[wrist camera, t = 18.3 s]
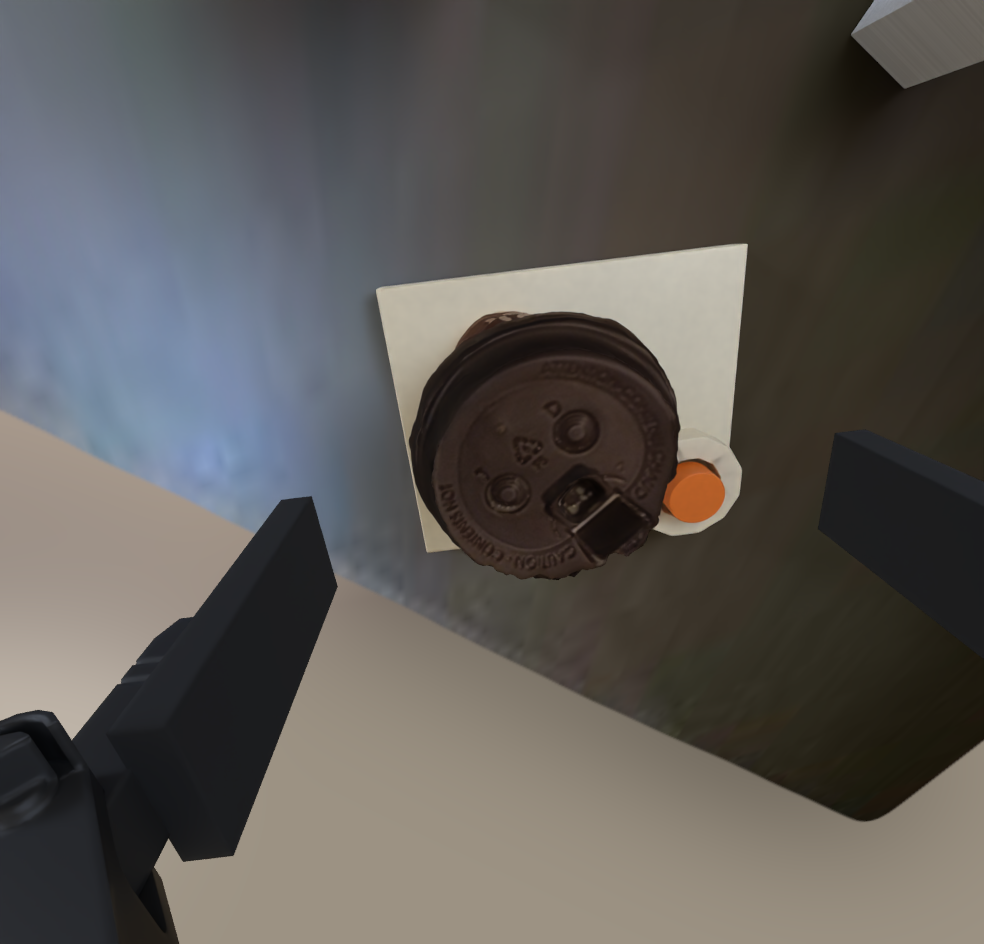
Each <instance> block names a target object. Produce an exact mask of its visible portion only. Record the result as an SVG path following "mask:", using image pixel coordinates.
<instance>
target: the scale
mask: <svg viewBox="0 0 984 944" xmlns="http://www.w3.org/2000/svg"><path fill="white" fill-rule="evenodd" d="M747 247H748V245H747V244H729V245H721V246H712V247H704V248H696V249H688V250H680V251H671V252H663V253H655V254H647V255H639V256H631V257H622V258H614V259H606V260H598V261H590V262H581V263H573V264H565V265H557V266H549V267H541V268H532V269H524V270H516V271H508V272H500V273H491V274H483V275H475V276H467V277H459V278H451V279H442V280H434V281H426V282H418V283H410V284H401V285H393V286H385V287H380V288H378V289H376V293H377V299H378V304H379V309H380V314H381V319H382V324H383V329H384V335H385V340H386V345H387V350H388V355H389V360H390V365H391V370H392V376H393V381H394V386H395V391H396V396H397V401H398V406H399V412H400V417H401V422H402V427H403V432H404V437H405V442H406V448H407V453H408V458H409V463H410V468H411V473H412V478H413V484H414V489H415V494H416V499H417V504H418V509H419V514H420V519H421V525H422V530H423V535H424V540H425V545H426V550H427V552H428V553H430V552H437V551H445V550H453V549H461V548H459V547H457V546H456V545H455V544H454V543H453V542H452V541H451V539H450V538H449V536H448V535H447V534H446V533H445V532H444V531H443V530H442V529H441V527H440V525H439V524H438V523H437V521H436V520H435V518H434V517H433V515H432V514H431V513H430V512H429V510H428V509H427V508H426V506H425V504H424V502H423V500H422V498H421V496H420V494H419V492H418V489H417V486H416V484H415V479H414V475H413V469H412V461H411V450H410V447H409V437H410V435H411V431H412V427H413V424H414V422H415V419H416V416H417V412H418V408H419V403H420V400H421V396H422V391H423V388H424V386H425V385H426V383H427V381H428V379H429V378H430V376H431V375H432V373H434V372H435V371H436V369H437V368H438V366H439V365H440V364H441V363H442V362H443V361H444V359H445V358H447V357H448V356H449V355H450V354H451V353H452V352H453V351H454V350H455V347H456V345H457V343H458V341H459V340H460V338H461V337H462V336H463V334H464V333H465V332H466V330H467V329H468V328H469V327H470V326H471V325H472V324H473V323H474V322H475V321H476V320H478V319H479V318H481V317H482V316H484V315H486V314H493V313H494V312H498V311H518V312H524V313H528V314H537V313H547V312H561V311H564V312H576V313H584V314H587V315H591V316H594V317H601V318H610V319H612V320H615V321H617V322H619V323H620V324H621V325H623V326H624V327H626V328H627V329H628V330H630V331H631V332H632V333H634V334H635V336H636V337H637V338H638V339H639V340H640V341H641V342H642V343H643V344H644V345H645V346H646V347H647V348H648V349H649V350H650V351H651V352H652V354H653V355H654V356H655V357H656V358H657V360H658V362H659V364H660V366H661V367H662V368H663V369H664V371H665V373H666V376H667V378H668V379H669V381H670V384H671V387H672V388H673V389H674V392H675V396H676V401H677V413H678V416H679V422H680V426H681V429H680V432H679V434H678V452H677V459H678V464H680V463H684V462H697V463H700V464H703V465H704V466H706V467H707V468H708V469H709V470H710V471H711V472H713V473H714V474H715V475H716V476H717V477H718V478H719V479H720V480H721V481H722V483H723V485H724V488H725V498H724V501H723V504H722V506H721V507H720V509H719V510H718V511H717V512H716V513H715V514H714V515H713V516H712V517H710V518H708V519H707V520H704V521H701V522H697V523H687V522H683V521H680V520H678V519H677V518H676V517H674V515H673V514H672V513H671V512H670V511H669V509H668V508H667V507H666V506H665V504H664V503H662V507H661V513H660V516H658V517H659V523H658V525H657V526H656V527H655V528H654V530H657V531H659V532H662V533H665V534H667V535H670V536H676V535H684V534H692V533H698V532H701V531H702V530H704V529H706V528H707V527H709V526H711V525H712V524H714V523H716V522H717V521H719V520H721V519H722V518H724V517H725V515H726V514H727V512H728V511H729V509H730V508H731V506H732V505H733V504H734V502H735V501H736V499H737V498H738V496H739V494H740V485H741V476H742V469H741V466H740V464H739V463H738V461H737V459H736V457H735V456H734V454H733V452H732V450H731V449H730V448H729V445H730V434H731V423H732V412H733V401H734V390H735V379H736V368H737V357H738V346H739V335H740V324H741V313H742V302H743V291H744V280H745V269H746V258H747Z"/></svg>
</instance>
